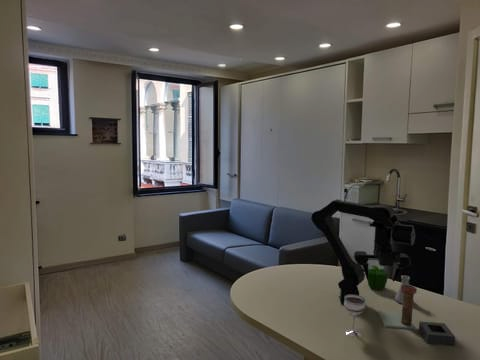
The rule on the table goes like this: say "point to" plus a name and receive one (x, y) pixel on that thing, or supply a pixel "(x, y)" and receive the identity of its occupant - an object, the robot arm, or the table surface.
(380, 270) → the bell pepper
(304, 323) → the table surface
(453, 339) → the eye block
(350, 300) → the wineglass
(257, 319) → the table surface
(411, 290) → the walnut peg
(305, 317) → the table surface
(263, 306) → the table surface
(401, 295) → the flask
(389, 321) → the green pad
